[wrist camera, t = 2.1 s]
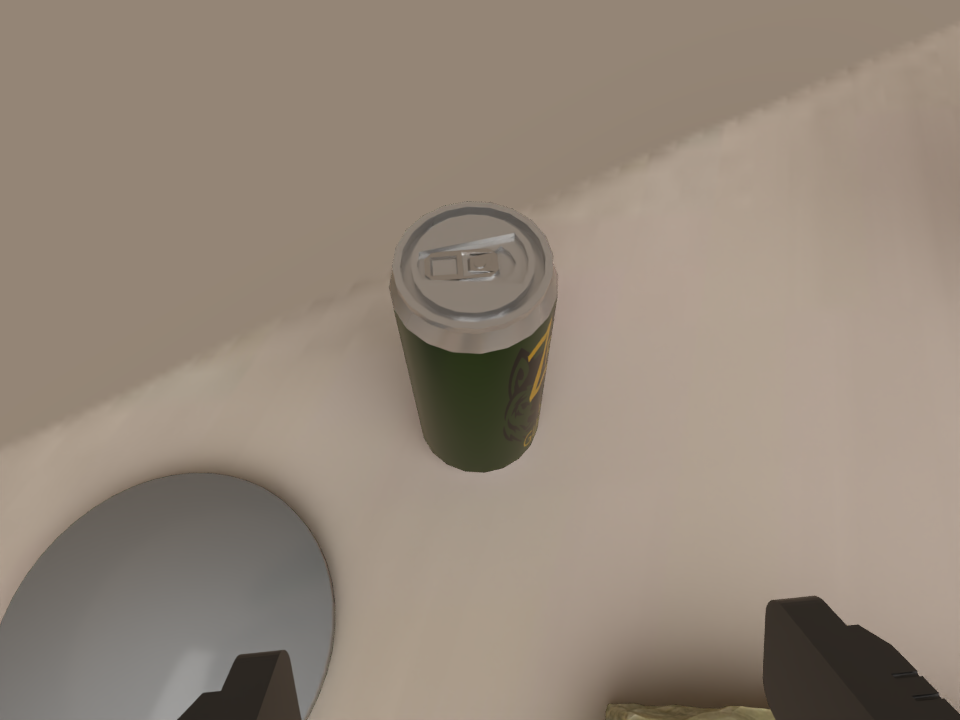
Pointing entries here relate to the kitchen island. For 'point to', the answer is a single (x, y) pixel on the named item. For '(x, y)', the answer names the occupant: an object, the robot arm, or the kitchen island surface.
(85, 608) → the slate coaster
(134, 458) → the kitchen island surface
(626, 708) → the decorative tile
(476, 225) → the beer can
